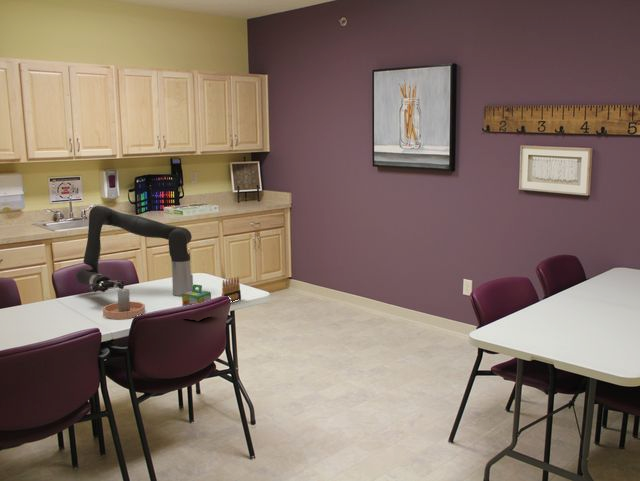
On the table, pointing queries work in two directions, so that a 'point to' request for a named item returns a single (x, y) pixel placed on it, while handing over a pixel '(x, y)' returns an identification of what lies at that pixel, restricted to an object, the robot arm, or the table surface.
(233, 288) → the ammunition clip
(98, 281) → the robot arm
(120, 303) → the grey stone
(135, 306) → the terracotta bowl
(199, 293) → the chalk box
